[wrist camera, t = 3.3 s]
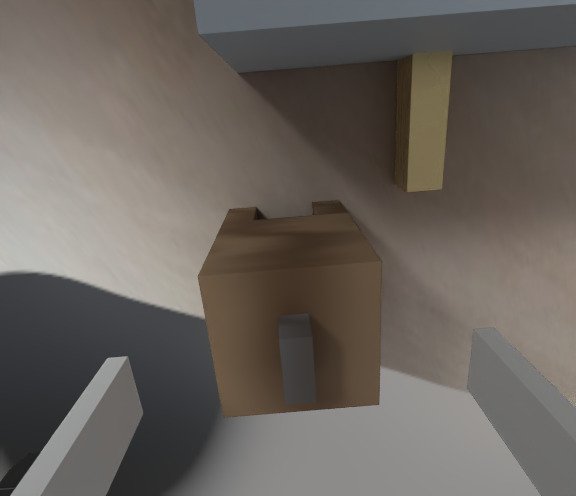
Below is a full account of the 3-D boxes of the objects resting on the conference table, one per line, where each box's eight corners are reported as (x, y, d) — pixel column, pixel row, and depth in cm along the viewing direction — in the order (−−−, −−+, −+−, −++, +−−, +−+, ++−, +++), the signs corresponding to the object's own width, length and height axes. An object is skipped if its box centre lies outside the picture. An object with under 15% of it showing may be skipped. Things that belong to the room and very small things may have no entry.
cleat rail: (394, 184, 23) (407, 192, 21) (397, 59, 20) (412, 53, 18) (425, 181, 23) (442, 189, 21) (433, 57, 20) (452, 50, 18)
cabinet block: (243, 307, 26) (218, 452, 15) (229, 209, 23) (188, 296, 12) (341, 299, 26) (389, 438, 15) (338, 200, 23) (394, 279, 12)
